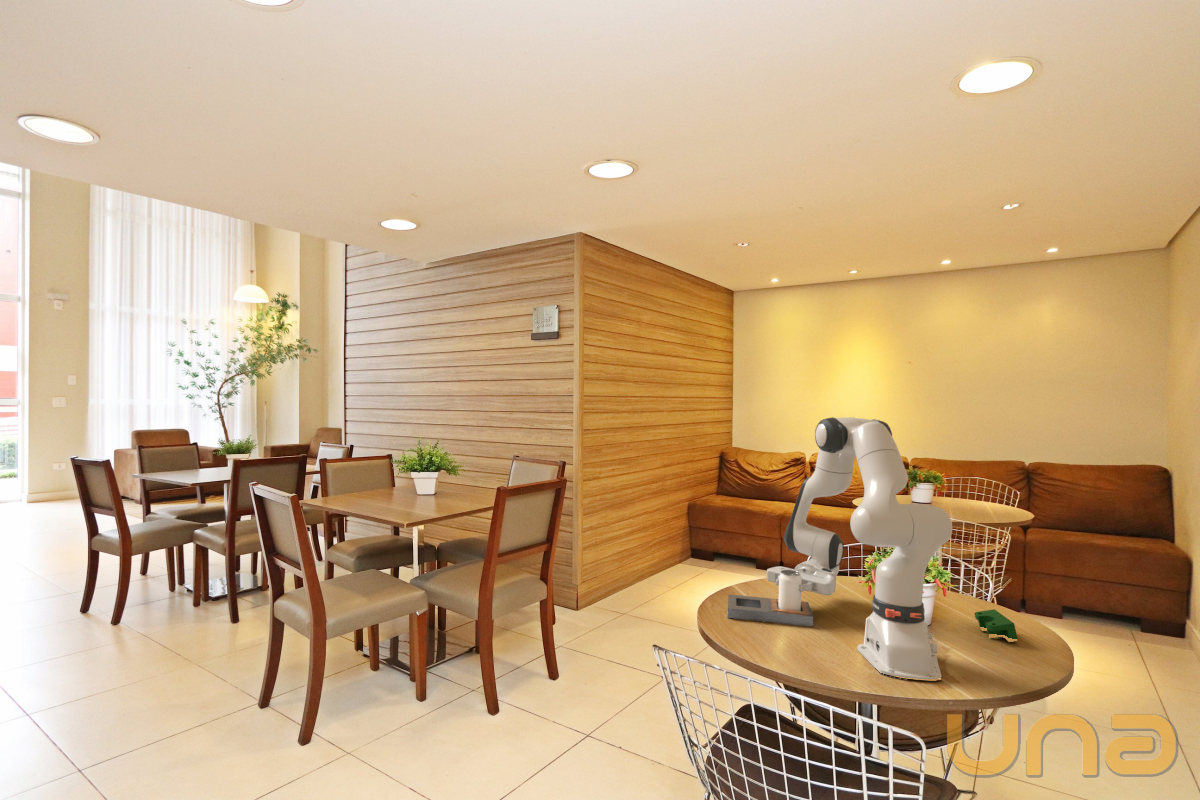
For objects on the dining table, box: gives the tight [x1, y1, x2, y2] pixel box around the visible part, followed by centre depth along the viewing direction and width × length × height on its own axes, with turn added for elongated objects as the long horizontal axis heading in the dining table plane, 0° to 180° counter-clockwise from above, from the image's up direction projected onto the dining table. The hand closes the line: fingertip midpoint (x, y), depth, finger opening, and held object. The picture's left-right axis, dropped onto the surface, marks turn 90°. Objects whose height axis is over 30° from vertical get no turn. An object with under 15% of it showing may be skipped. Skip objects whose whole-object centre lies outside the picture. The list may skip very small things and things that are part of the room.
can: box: [777, 570, 802, 611], centre depth 185 cm, size 6×6×12 cm
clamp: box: [974, 608, 1019, 640], centre depth 175 cm, size 12×6×9 cm, turn 166°
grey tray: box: [727, 594, 814, 628], centre depth 186 cm, size 13×24×3 cm, turn 78°
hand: (788, 585), depth 185 cm, fingers closed on can, 5 cm apart
